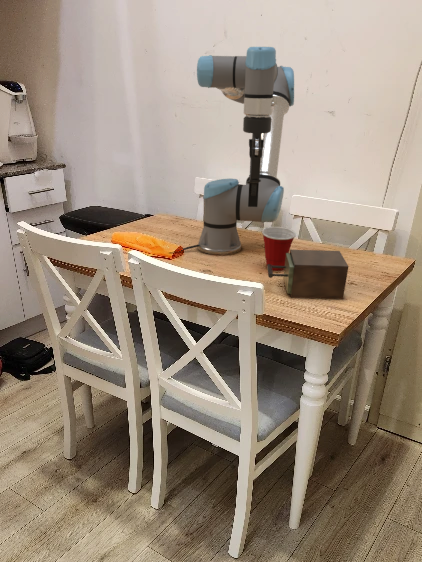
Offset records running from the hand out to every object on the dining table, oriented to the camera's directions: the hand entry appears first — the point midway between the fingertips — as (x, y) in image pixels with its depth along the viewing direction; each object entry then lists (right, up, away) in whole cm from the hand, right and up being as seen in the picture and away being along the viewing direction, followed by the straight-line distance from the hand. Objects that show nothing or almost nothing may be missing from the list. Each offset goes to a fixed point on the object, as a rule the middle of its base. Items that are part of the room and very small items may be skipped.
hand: (252, 206), depth 143 cm
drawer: (+13, -24, -1) cm, 27 cm away
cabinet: (+18, -25, 0) cm, 31 cm away
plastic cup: (+9, -15, +15) cm, 23 cm away
